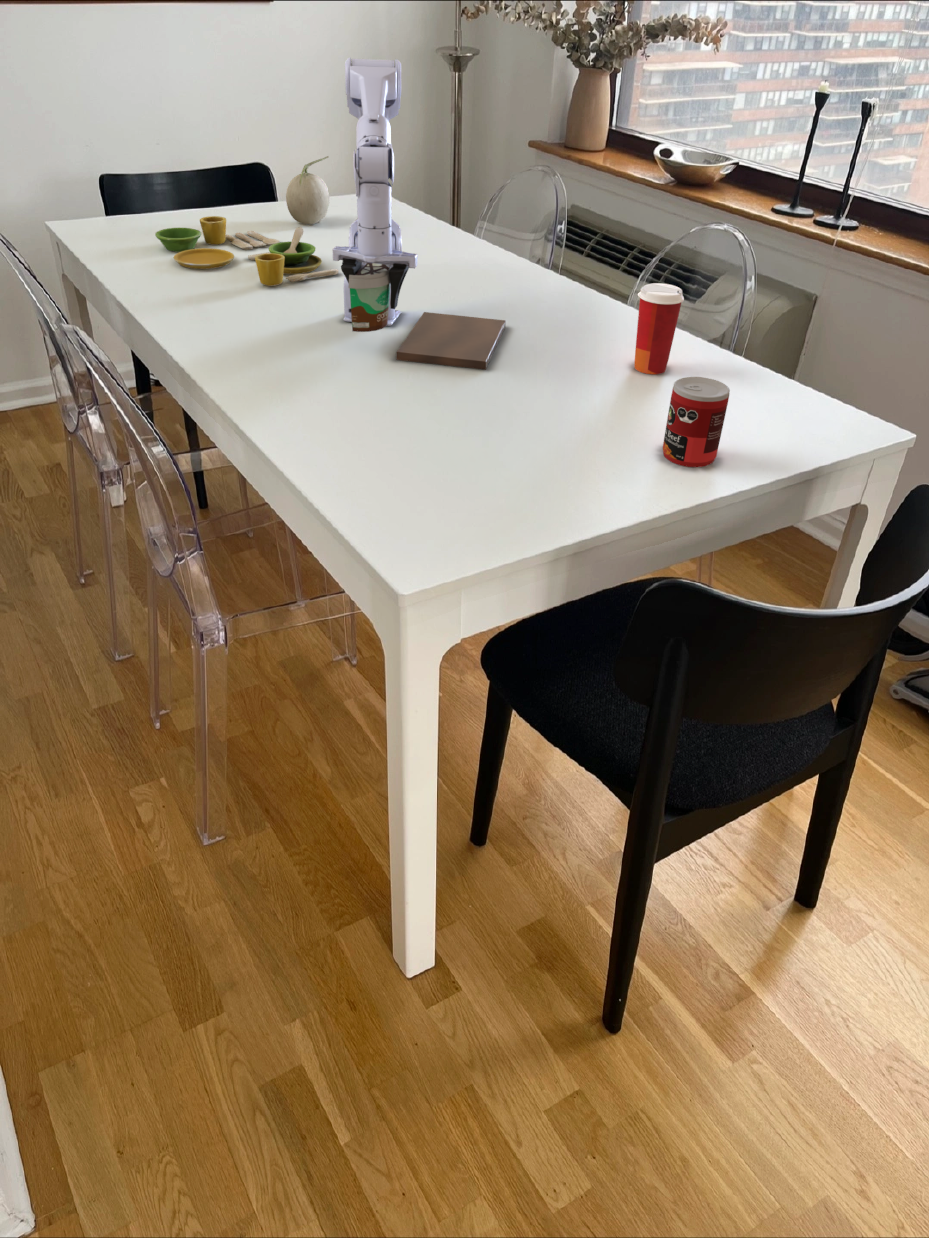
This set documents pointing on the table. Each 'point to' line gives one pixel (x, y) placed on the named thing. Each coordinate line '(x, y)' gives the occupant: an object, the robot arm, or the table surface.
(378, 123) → the robot arm
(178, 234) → the tableware set
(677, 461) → the canned food
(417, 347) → the walnut board
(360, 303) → the food container
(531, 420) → the table surface
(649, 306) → the paper cup
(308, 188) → the fruit
